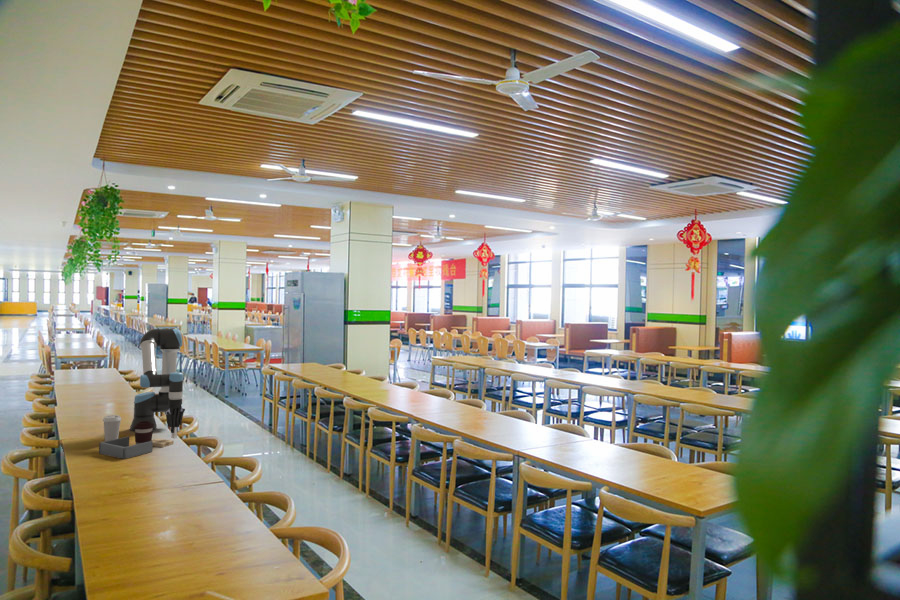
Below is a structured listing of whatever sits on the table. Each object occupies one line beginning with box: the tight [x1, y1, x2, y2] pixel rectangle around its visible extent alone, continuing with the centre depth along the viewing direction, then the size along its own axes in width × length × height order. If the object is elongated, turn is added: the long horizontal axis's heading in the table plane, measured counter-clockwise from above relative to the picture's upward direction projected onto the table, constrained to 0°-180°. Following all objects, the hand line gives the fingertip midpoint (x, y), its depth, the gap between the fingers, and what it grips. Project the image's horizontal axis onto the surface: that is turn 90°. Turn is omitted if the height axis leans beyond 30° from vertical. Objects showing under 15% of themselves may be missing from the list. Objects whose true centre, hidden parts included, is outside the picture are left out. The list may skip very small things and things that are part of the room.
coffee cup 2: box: [134, 421, 154, 445], centre depth 326 cm, size 10×10×15 cm
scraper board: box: [151, 438, 174, 448], centre depth 336 cm, size 8×12×2 cm, turn 72°
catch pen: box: [98, 436, 154, 460], centre depth 317 cm, size 17×20×6 cm
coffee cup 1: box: [102, 414, 122, 442], centre depth 337 cm, size 10×10×15 cm
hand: (173, 437), depth 345 cm, fingers closed
